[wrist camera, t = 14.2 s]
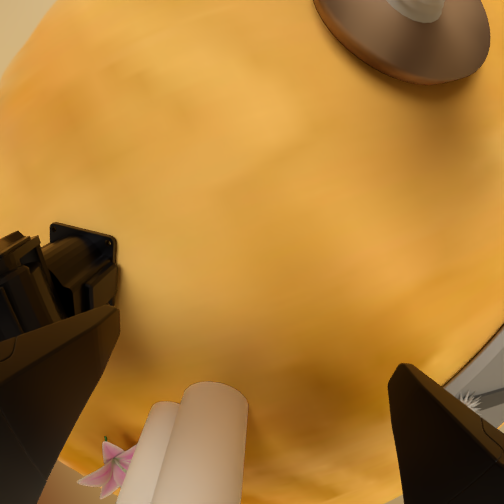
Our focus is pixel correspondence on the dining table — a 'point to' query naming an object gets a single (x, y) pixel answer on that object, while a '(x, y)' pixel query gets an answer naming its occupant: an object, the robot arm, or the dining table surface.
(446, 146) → the dining table surface
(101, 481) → the lily
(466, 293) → the dining table surface
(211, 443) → the vase
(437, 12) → the chalice
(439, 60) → the walnut pedestal
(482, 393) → the decorative plate
